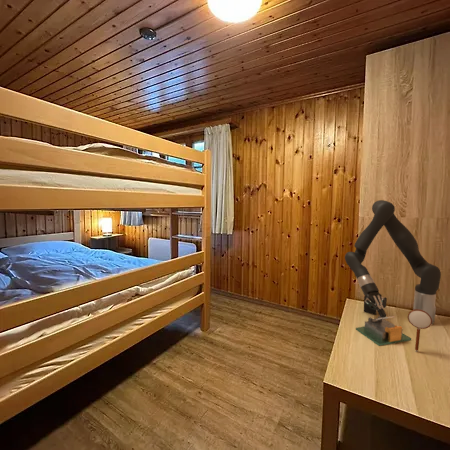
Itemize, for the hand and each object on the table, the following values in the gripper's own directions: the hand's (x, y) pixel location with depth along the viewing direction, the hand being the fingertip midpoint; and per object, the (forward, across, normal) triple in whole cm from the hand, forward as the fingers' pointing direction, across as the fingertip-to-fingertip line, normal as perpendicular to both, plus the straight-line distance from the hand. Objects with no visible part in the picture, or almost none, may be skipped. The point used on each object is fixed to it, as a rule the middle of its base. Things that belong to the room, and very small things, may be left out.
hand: (384, 317), depth 127 cm
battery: (-8, +13, +23) cm, 27 cm away
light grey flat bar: (0, 0, +1) cm, 1 cm away
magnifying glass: (+17, +4, -4) cm, 18 cm away
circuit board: (+7, 0, +7) cm, 10 cm away
